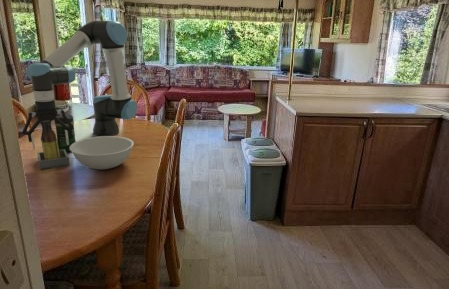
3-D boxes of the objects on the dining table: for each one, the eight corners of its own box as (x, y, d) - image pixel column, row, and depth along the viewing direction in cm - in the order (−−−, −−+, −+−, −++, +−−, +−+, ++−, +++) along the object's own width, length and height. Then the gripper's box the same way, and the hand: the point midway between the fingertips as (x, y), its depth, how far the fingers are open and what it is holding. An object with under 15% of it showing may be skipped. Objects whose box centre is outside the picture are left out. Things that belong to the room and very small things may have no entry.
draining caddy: (65, 156, 153) (64, 149, 152) (69, 165, 143) (68, 157, 142) (38, 160, 147) (37, 152, 146) (40, 170, 137) (39, 161, 136)
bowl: (74, 157, 152) (71, 138, 149) (132, 152, 162) (131, 134, 159) (69, 180, 128) (66, 158, 125) (137, 173, 138) (136, 152, 135)
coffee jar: (73, 152, 158) (69, 117, 153) (56, 153, 157) (51, 117, 151) (78, 146, 167) (74, 112, 162) (62, 147, 166) (58, 112, 160)
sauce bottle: (52, 158, 148) (46, 117, 142) (63, 159, 147) (57, 118, 140) (41, 163, 142) (34, 120, 136) (53, 164, 141) (46, 122, 134)
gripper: (10, 103, 126) (19, 153, 133) (77, 99, 139) (82, 144, 146) (10, 100, 132) (18, 147, 139) (74, 96, 145) (79, 140, 152)
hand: (51, 146), depth 142 cm, fingers open, 13 cm apart
